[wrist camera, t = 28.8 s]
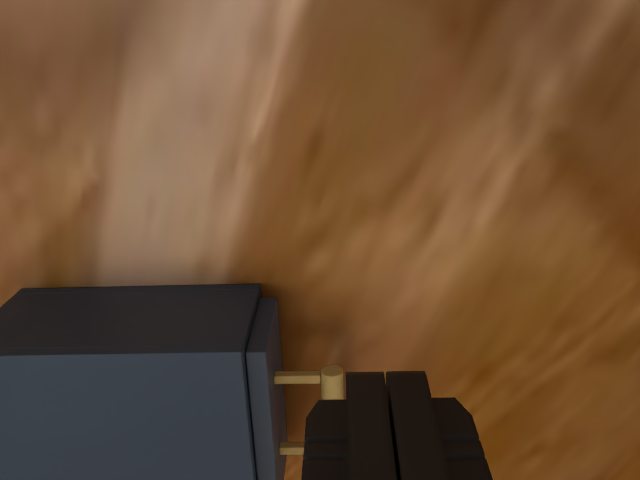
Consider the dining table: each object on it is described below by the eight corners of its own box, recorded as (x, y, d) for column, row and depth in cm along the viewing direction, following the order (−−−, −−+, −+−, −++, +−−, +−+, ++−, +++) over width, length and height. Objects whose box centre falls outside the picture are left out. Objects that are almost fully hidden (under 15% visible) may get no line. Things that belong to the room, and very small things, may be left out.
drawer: (341, 295, 40) (342, 350, 33) (345, 445, 44) (346, 518, 38) (49, 301, 40) (-4, 356, 34) (83, 447, 45) (41, 520, 39)
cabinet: (260, 283, 41) (241, 352, 33) (273, 444, 46) (259, 538, 38) (21, 288, 41) (-55, 356, 33) (60, 446, 46) (1, 539, 38)
